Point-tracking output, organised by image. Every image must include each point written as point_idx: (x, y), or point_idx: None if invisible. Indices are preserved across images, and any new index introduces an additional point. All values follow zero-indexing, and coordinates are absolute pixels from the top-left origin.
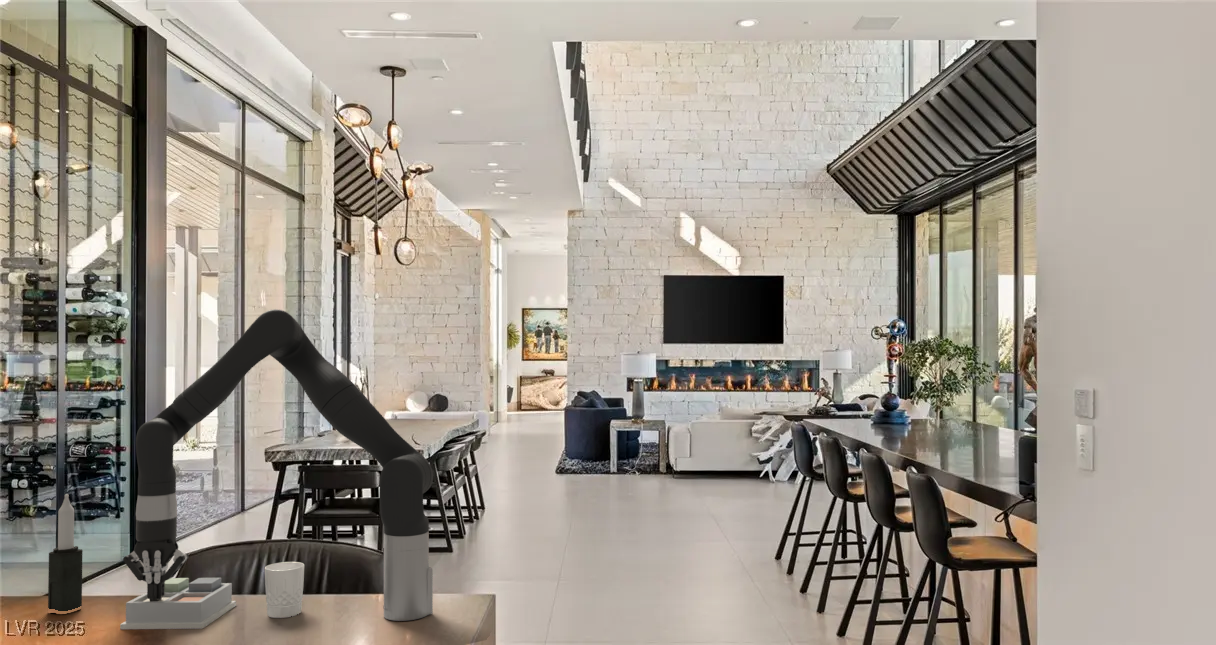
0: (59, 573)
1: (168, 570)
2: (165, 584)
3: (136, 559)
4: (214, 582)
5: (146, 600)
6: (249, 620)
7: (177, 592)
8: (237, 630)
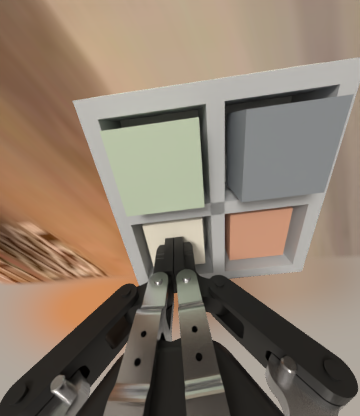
0: None
1: (236, 335)
2: (161, 211)
3: (86, 398)
4: (328, 168)
5: (152, 246)
6: (356, 192)
7: (206, 207)
8: (338, 242)
